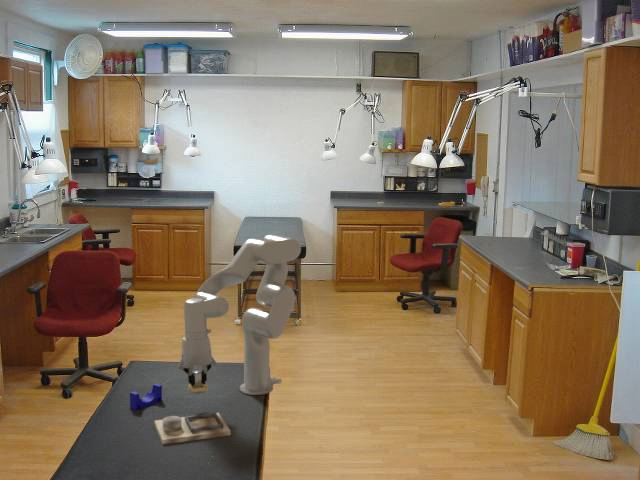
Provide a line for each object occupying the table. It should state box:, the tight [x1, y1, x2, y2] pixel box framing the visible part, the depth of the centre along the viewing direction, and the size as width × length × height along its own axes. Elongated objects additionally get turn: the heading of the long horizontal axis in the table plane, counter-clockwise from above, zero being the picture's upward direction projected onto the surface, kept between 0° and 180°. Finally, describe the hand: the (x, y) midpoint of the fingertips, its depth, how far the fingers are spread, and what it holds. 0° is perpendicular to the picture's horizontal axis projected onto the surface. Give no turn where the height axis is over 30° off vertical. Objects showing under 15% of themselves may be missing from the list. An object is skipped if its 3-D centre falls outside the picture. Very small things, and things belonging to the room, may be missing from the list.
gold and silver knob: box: [187, 370, 209, 395], centre depth 266 cm, size 7×7×6 cm
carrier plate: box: [153, 412, 232, 445], centre depth 250 cm, size 22×16×4 cm
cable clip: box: [129, 383, 163, 411], centre depth 271 cm, size 12×4×6 cm, turn 143°
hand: (197, 383), depth 267 cm, fingers closed on gold and silver knob, 3 cm apart
